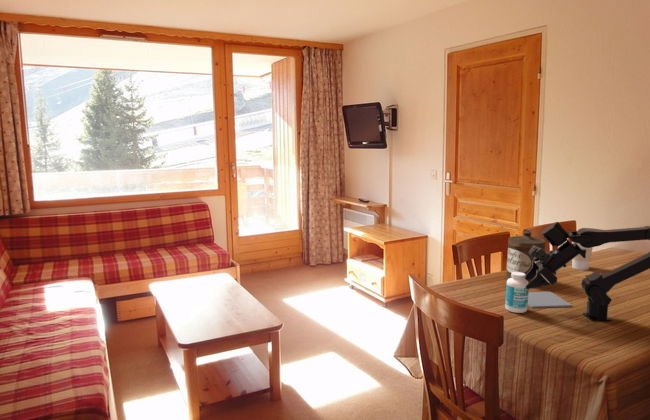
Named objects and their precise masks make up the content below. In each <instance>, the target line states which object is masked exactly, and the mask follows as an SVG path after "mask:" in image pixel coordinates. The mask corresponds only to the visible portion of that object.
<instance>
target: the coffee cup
mask: <svg viewBox="0 0 650 420" xmlns="http://www.w3.org/2000/svg"><path fill="white" fill-rule="evenodd" d="M571 243H572V244H573V243H575V242H573V241H572V240H571ZM576 244H577V245H578V246H579V247H580V248H581V249H585V250H586V258H583V257H582V256H581V255H580V254H579V255H578V256H576V257H575V258H574V259H572V260H571V261H572V262H571V264H572V265H571V268H572V269H576V270H582V271H583V270H585V271H587V270H589V268H590V262H591V258H592V253H593V247H592V248H585V247H582V246H581V245H580V244H579V243H576Z"/></svg>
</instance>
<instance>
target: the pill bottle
mask: <svg viewBox="0 0 650 420" xmlns="http://www.w3.org/2000/svg"><path fill="white" fill-rule="evenodd" d="M525 276H526V274H525V273H522V272H512V273H511V277H512V278H509V279H508V280H507V279H506V287H505V289H506V290H505V302H504V303H505V304H504V308H505V309H506V310H507V311H509V312H512V313H515V314H521V313H522V314H523V313H526V312H527V311H528V307H529V305H528V293H529V292H530V291H529V290H530V289H527V288H526V285H527V284H528V283H529V282H528V281H527V280H525Z"/></svg>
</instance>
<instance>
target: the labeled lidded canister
mask: <svg viewBox="0 0 650 420" xmlns="http://www.w3.org/2000/svg"><path fill="white" fill-rule="evenodd" d="M531 235H532V231H531V230H527V229H525V230H523V231H522V235H515V236H509V237H508V240H507V257H506V258H507V259H506V273H505V274H506V278H505V279H506V281H507V280H508V279H509V278H512V277H511V273H512V272H522V273H525V274H527V273H528V272H529V270H530V269H531V267H532V260H533V261H534V259H533V258H534V257H532V256H531V255H530V253H529V251H530V249H531V248H532V246H533V245H535V246H537V247H539V248H542V249H543V250H545V251H546V239H545V238H544V239H543V238H541V237H537V236H531ZM531 280H532V279H530V280H527V281H528V282H530V281H531Z"/></svg>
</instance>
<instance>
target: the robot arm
mask: <svg viewBox="0 0 650 420" xmlns="http://www.w3.org/2000/svg"><path fill="white" fill-rule="evenodd" d="M540 235H541V236H542V237H543V238H544V240H545V241H547V243H549V244H550V246H552V247H557V248H556V249H552V250H550V251H546V249H545V250H543V249H542V248H539V247H537V246H535V245H533V246H532V248H531V249H530V251H529V253H530V255H531V256H532V257H534V258H533V259H534V261H533V260H532V267H531V269H530V270H529V272H528V273H527V274H526V276H525V280H530V279H532V280H531V281H530V282H529V283H528V284H527V285H526V288H527V289H529V290H530V289H534V288H539V287H543V286H551V285H552V286H553V285H555V284H556V283H558V276H557V275H556V274H557V272H558V271H559V270H560V269H562V268H567V266H568V265H567V264H569V262H571V261H572V259H574V258H575V257H576V256H578V255H579V254H580V255H581V256H582V257H583V258H586V250H585V249H581V248H580V247H579V246H578V245H577V244H576V243H579V244H580V245H581V246H582V247H585V248H592V249H593V248H595V247H599V246H602V245H605V244H610V243H621V242H634V241H647V240H648V241H650V225H645V226H642V227H641V226H640V227H639V226H638V227H629V228H628V227H627V228H626V227H625V228H615V229H600V228H593V227H592V228H590V227H581V228H579V229H578V230H575V231H574V230H571V231H570V230H569V231H566V229H564V228H563V227H562V224H560V223H559V221H556V222H554V223H552V224H550V225H547V226H546V227H545V228H544V229H543V230H542V231H541V232H540ZM570 240H571V241H570ZM572 241H573V242H575V243H573V244H572ZM648 270H650V251H649V252H647V253H645V254H644V255H641V256H639V257H637V258H635V259H633V260H631V261H629V262H627V263H624V264H623V265H621V266H618V267H617V268H614V269H611V270H610V271H607V272H604V273H600V272H599V271H598V270H595V271H593V272H592V273H590V274H586V275H585V278H583V279H582V280H581V284H580V285H581V289H582V290H583V292H584V294H585V295H587V296H588V297H587V301H586V302H587V303H586V312H582V315H583V316H584V317H586V318H588V319H589V320H591V321H593V322H599V321H601V322H602V321H603V322H605V321H608V322H609V321H610V322H611V321H612V318H611V317H609V316H608V310H609V305H610V304H611V301H612V298H611V297H610V296H609V295H608V293H609V291H611V290H612V288H613V287H615V286H616V285H618V284H620V283H622V282H625V281H626V280H628V279H631V278H633V277H635V276H637V275H639V274H641V273H643V272H647V271H648Z"/></svg>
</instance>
